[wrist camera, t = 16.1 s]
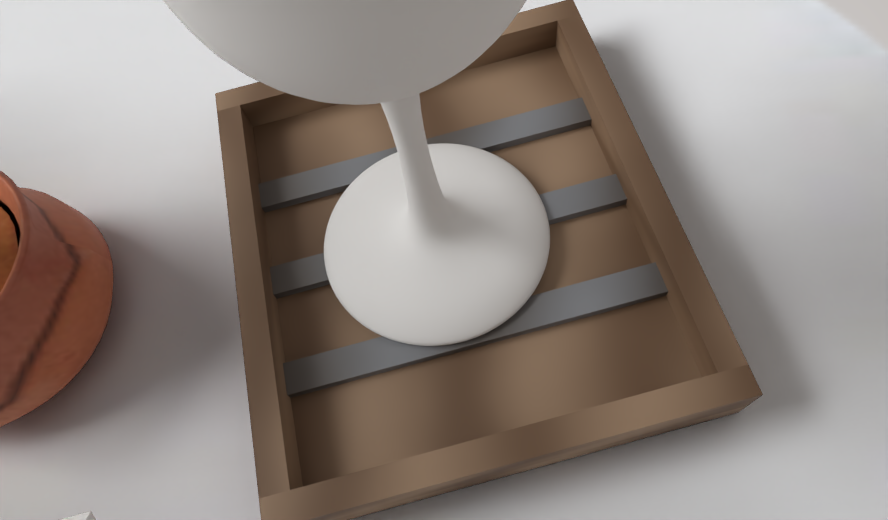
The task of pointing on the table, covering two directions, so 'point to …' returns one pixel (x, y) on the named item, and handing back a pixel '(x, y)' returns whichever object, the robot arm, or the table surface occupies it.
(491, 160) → the wineglass
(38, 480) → the table surface
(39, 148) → the table surface
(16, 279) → the potted flower
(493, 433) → the wooden tray
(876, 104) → the table surface
